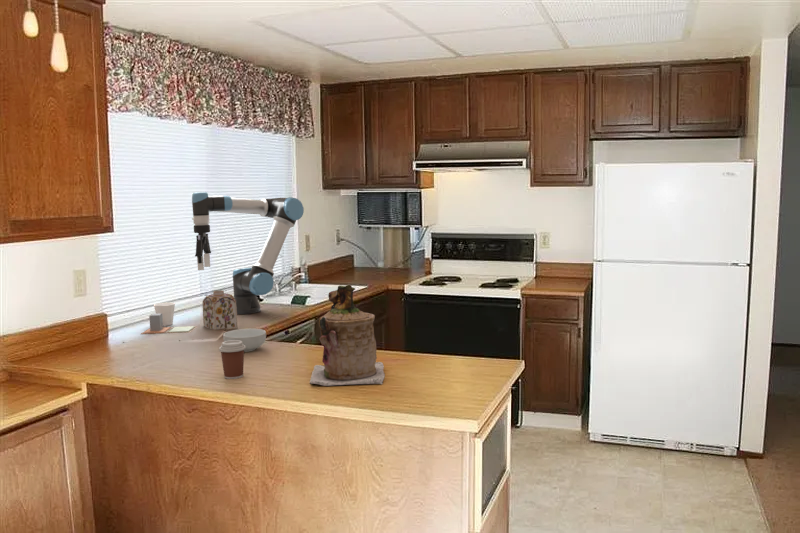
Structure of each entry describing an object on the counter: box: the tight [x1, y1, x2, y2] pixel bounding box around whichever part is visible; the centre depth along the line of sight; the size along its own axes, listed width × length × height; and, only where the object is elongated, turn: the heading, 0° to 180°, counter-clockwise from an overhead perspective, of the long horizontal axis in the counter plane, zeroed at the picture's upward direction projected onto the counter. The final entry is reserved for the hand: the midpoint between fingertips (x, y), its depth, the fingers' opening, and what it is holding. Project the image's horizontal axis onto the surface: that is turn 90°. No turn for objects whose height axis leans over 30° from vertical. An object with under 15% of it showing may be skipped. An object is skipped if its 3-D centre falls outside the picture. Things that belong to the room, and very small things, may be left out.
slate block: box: [148, 313, 164, 331], centre depth 319 cm, size 4×4×7 cm
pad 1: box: [143, 326, 171, 334], centre depth 319 cm, size 9×11×1 cm
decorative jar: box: [202, 289, 238, 332], centre depth 324 cm, size 12×12×18 cm
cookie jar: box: [309, 284, 386, 387], centre depth 236 cm, size 25×25×32 cm
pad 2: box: [167, 325, 195, 334], centre depth 320 cm, size 9×11×1 cm
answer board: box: [140, 325, 198, 335], centre depth 319 cm, size 22×14×2 cm, turn 93°
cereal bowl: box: [222, 327, 267, 353], centre depth 281 cm, size 17×17×7 cm
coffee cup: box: [218, 340, 246, 380], centre depth 240 cm, size 9×9×12 cm
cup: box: [153, 301, 176, 327], centre depth 333 cm, size 10×10×11 cm
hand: (204, 268), depth 339 cm, fingers open, 13 cm apart
